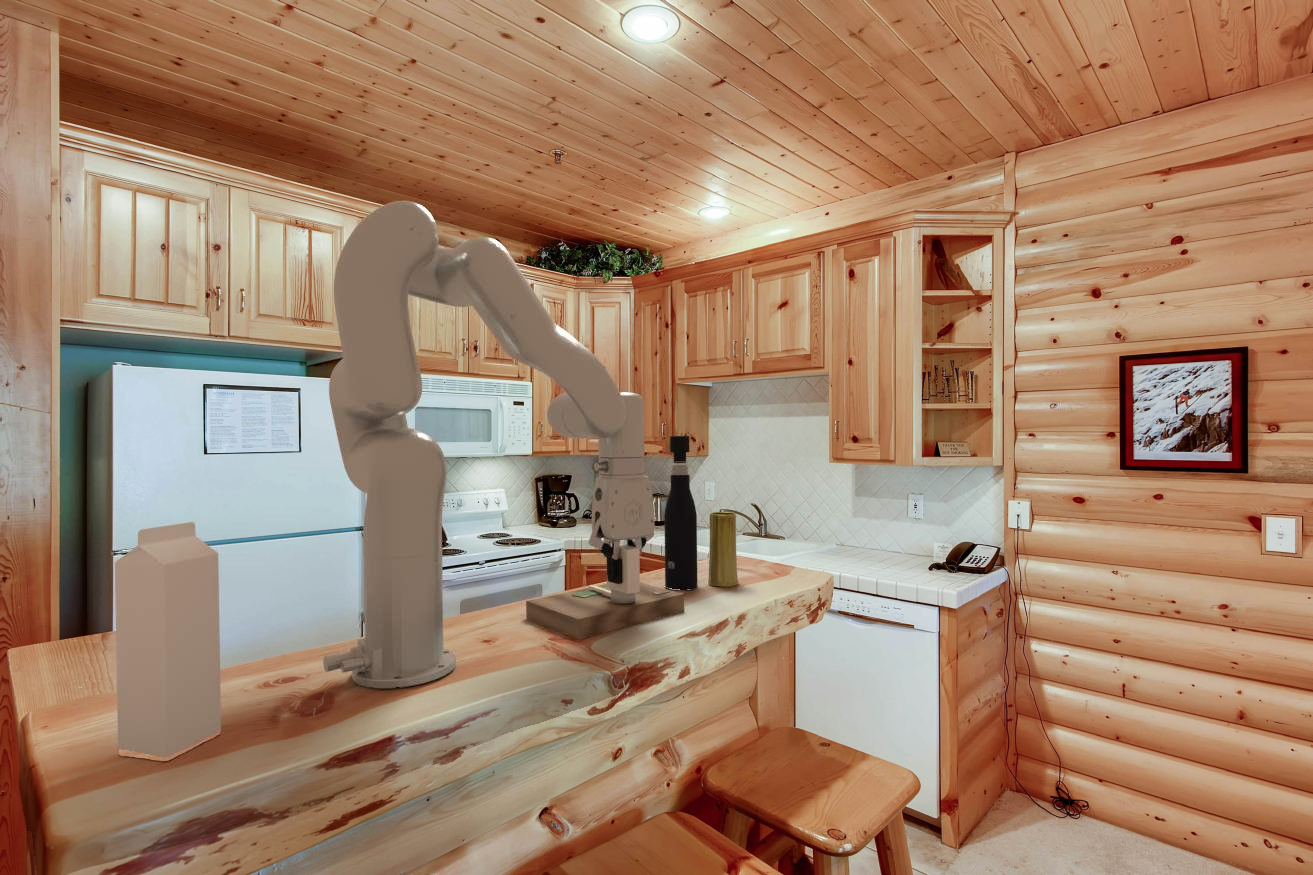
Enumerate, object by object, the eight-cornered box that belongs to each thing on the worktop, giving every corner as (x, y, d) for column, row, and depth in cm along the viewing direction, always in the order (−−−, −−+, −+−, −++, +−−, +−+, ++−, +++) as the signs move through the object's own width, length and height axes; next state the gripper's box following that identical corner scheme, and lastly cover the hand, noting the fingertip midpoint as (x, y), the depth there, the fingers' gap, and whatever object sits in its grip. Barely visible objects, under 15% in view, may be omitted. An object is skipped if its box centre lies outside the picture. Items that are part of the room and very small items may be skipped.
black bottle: (698, 583, 133) (696, 435, 133) (696, 590, 127) (695, 435, 126) (666, 582, 134) (664, 436, 133) (663, 590, 127) (662, 436, 127)
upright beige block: (643, 601, 106) (643, 547, 106) (623, 606, 104) (623, 550, 104) (600, 587, 116) (599, 537, 116) (580, 590, 114) (580, 540, 114)
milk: (221, 735, 68) (220, 522, 68) (165, 763, 62) (164, 530, 62) (174, 729, 69) (173, 520, 69) (115, 756, 63) (113, 528, 63)
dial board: (579, 639, 98) (578, 617, 98) (526, 618, 109) (526, 599, 109) (684, 611, 112) (684, 592, 112) (628, 595, 124) (628, 578, 124)
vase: (723, 578, 137) (722, 510, 137) (744, 583, 132) (744, 513, 132) (702, 583, 133) (701, 513, 133) (723, 588, 128) (722, 515, 128)
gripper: (595, 471, 99) (597, 593, 99) (673, 467, 110) (674, 576, 110) (567, 470, 104) (568, 585, 105) (644, 465, 115) (645, 570, 115)
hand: (623, 579), depth 107 cm, fingers closed on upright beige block, 2 cm apart
